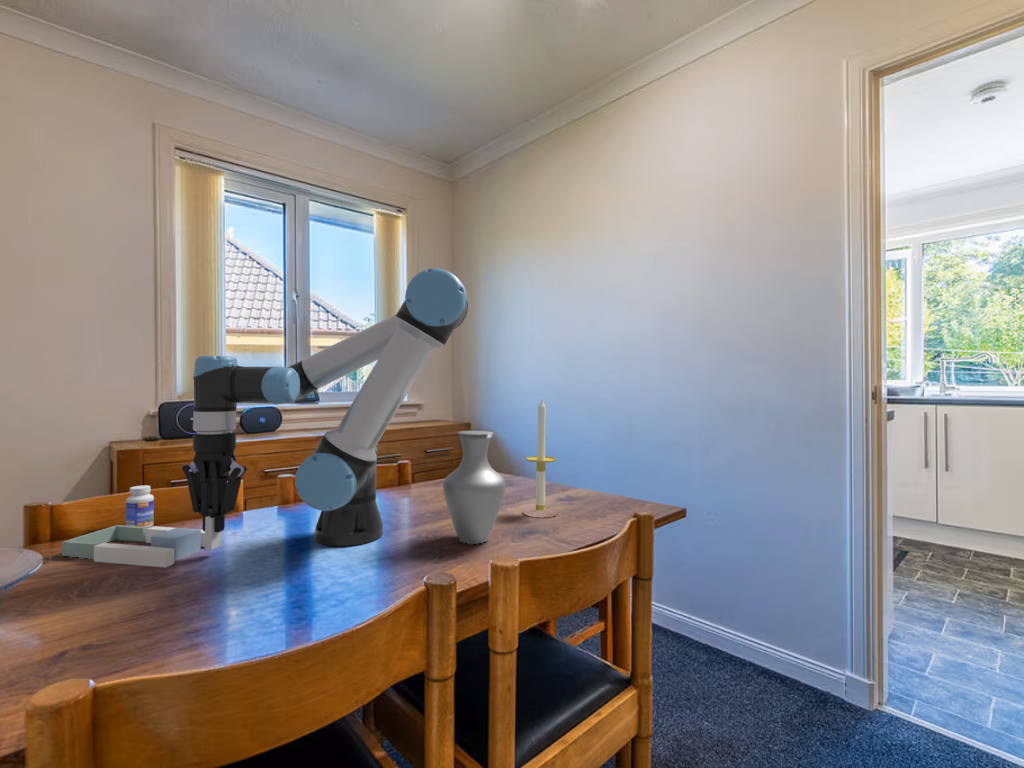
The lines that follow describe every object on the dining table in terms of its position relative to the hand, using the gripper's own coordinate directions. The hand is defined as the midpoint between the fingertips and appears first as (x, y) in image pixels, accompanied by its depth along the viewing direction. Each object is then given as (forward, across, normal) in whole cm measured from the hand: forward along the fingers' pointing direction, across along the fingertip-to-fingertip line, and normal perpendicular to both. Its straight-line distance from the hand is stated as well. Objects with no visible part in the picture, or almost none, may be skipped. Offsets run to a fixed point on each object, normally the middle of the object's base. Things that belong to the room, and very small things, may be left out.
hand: (213, 547), depth 100 cm
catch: (+2, +25, 0) cm, 25 cm away
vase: (+2, -50, -21) cm, 54 cm away
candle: (+2, -62, -47) cm, 78 cm away
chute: (+2, +12, 0) cm, 13 cm away
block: (+2, +8, 0) cm, 9 cm away
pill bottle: (+2, +32, -14) cm, 35 cm away
